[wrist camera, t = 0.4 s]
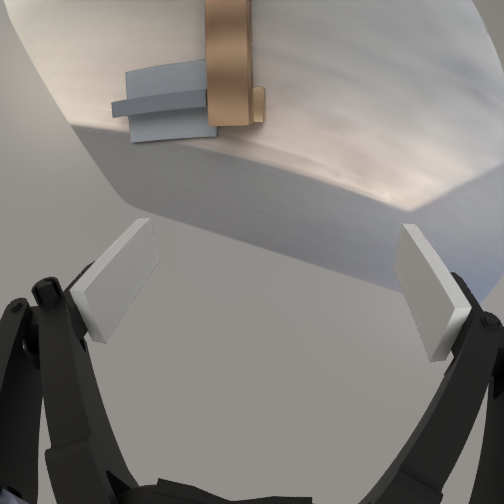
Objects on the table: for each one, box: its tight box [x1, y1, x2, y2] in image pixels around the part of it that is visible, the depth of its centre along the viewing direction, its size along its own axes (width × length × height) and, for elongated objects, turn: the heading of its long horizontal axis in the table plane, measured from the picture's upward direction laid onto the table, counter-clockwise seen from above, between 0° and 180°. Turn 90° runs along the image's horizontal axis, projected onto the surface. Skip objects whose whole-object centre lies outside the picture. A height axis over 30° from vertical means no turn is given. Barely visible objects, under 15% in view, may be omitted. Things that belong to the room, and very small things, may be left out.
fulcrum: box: [111, 60, 218, 143], centre depth 32 cm, size 10×12×5 cm
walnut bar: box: [205, 0, 253, 127], centre depth 24 cm, size 22×4×4 cm, turn 1°
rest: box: [253, 87, 265, 122], centre depth 32 cm, size 4×6×4 cm, turn 91°
